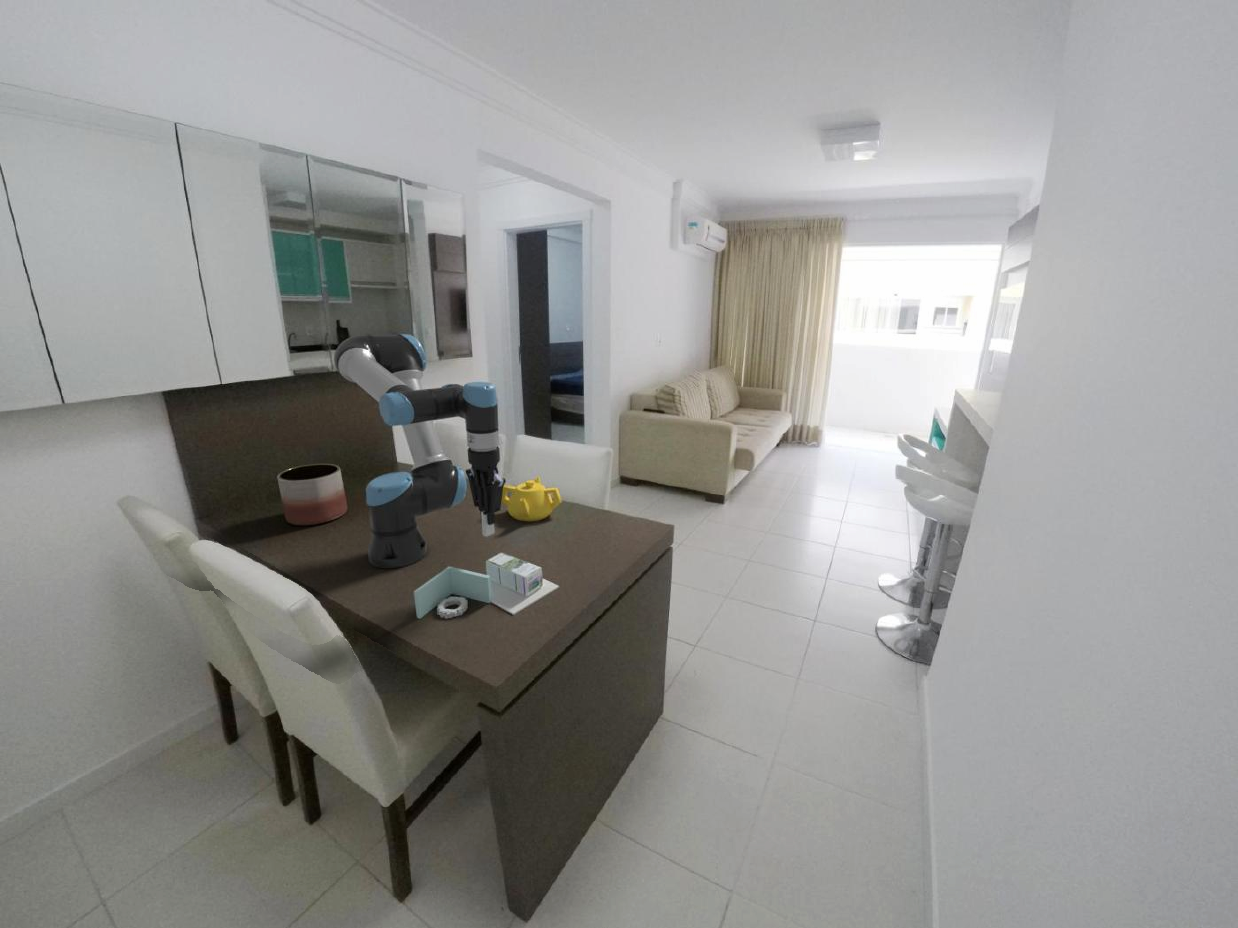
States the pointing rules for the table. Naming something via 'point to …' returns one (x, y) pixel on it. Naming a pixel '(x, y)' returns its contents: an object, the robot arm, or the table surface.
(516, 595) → the mat
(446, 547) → the table surface
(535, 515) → the teapot
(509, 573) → the syrup box
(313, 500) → the planter
